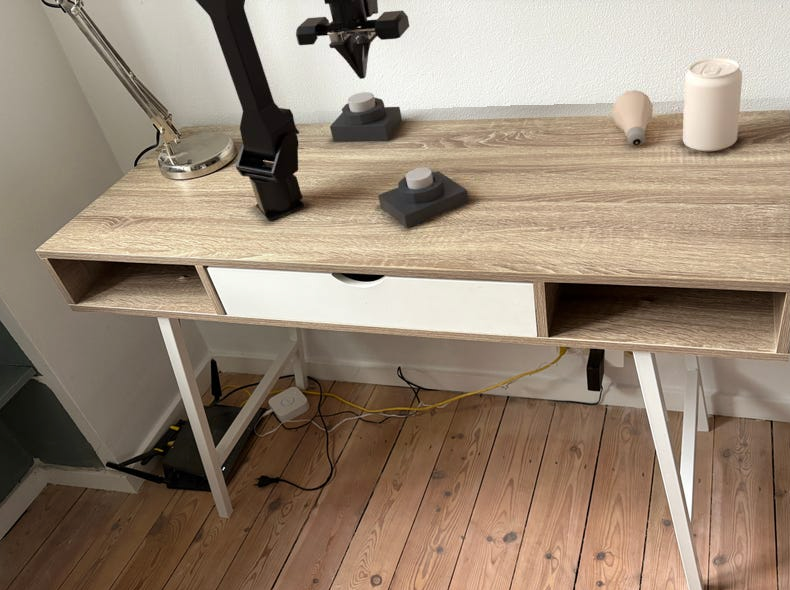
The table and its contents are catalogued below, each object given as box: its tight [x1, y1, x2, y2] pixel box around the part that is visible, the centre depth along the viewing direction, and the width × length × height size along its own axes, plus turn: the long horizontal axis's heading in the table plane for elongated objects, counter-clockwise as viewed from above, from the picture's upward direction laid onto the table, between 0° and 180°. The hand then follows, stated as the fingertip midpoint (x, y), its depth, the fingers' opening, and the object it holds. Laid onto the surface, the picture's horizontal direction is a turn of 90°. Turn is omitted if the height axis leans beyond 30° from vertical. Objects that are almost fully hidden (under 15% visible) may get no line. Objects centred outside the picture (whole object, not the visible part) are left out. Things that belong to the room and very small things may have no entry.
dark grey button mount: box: [329, 96, 403, 142], centre depth 152 cm, size 11×8×5 cm
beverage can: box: [682, 57, 743, 153], centre depth 125 cm, size 8×8×12 cm
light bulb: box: [611, 90, 654, 148], centre depth 133 cm, size 7×7×11 cm
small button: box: [405, 167, 433, 189], centre depth 125 cm, size 4×4×2 cm
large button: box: [347, 91, 376, 112], centre depth 150 cm, size 5×5×2 cm
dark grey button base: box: [377, 170, 470, 229], centre depth 126 cm, size 11×9×4 cm
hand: (362, 77), depth 143 cm, fingers closed
